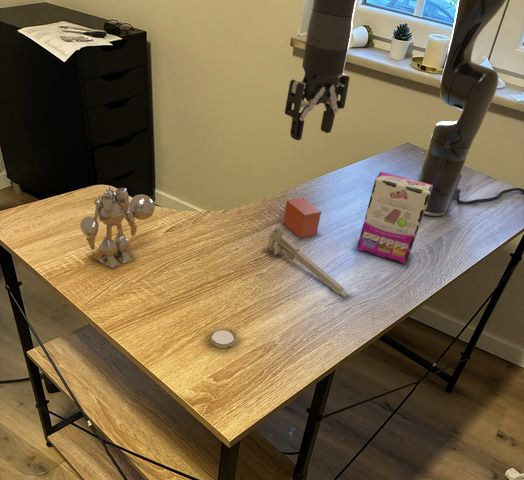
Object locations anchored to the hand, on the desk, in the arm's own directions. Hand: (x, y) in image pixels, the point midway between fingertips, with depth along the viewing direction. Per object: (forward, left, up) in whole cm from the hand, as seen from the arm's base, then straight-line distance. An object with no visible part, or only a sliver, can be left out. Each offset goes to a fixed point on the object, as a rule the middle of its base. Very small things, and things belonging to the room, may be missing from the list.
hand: (311, 135), depth 103 cm
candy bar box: (-14, +14, -22) cm, 30 cm away
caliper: (+7, +14, -22) cm, 27 cm away
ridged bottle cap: (+32, +25, -22) cm, 46 cm away
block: (-2, -1, -22) cm, 22 cm away
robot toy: (+38, -5, -22) cm, 44 cm away
